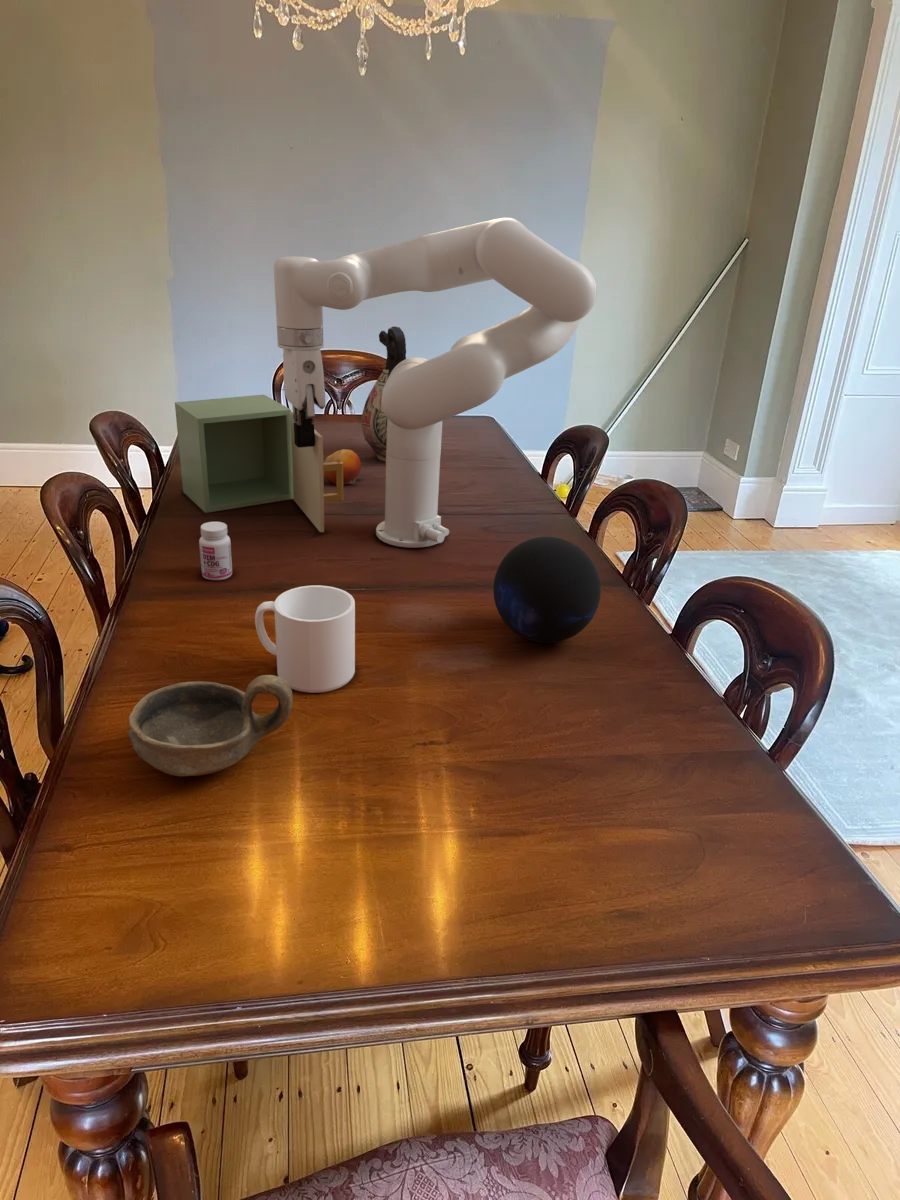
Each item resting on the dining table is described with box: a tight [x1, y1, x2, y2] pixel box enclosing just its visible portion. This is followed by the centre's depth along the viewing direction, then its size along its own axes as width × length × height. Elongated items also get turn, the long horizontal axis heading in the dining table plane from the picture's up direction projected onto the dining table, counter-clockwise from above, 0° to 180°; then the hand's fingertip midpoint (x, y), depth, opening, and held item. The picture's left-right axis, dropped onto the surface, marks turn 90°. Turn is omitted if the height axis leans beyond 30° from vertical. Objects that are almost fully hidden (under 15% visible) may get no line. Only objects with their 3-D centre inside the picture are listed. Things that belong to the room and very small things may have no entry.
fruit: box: [323, 448, 362, 486], centre depth 176 cm, size 8×8×8 cm
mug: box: [254, 584, 356, 694], centre depth 107 cm, size 13×10×10 cm
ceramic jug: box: [361, 326, 407, 462], centre depth 187 cm, size 17×15×30 cm
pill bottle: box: [198, 521, 233, 581], centre depth 132 cm, size 5×5×8 cm
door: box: [291, 410, 344, 533], centre depth 155 cm, size 5×18×18 cm, turn 25°
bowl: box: [127, 674, 294, 777], centre depth 90 cm, size 14×18×10 cm
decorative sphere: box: [493, 536, 602, 644], centre depth 118 cm, size 15×15×15 cm
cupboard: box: [174, 394, 293, 514], centre depth 162 cm, size 13×18×18 cm
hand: (304, 445), depth 146 cm, fingers closed
